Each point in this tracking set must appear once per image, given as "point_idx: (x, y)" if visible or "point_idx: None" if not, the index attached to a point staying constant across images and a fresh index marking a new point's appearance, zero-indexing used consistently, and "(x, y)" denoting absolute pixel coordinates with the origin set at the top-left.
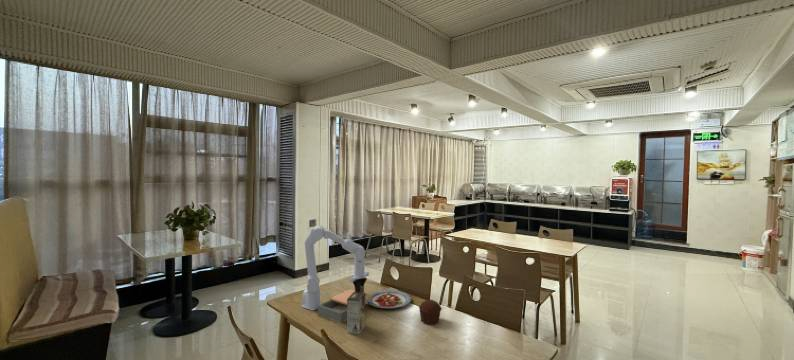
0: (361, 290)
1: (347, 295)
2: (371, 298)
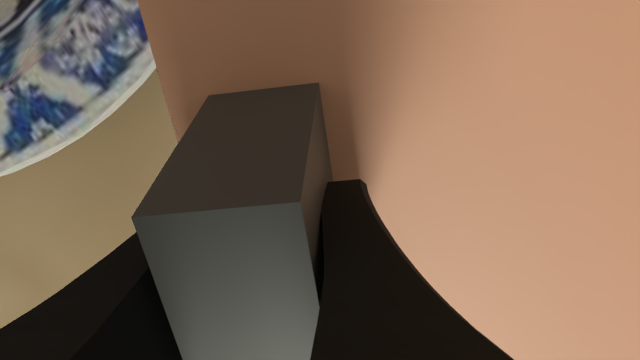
0: (311, 145)
1: (602, 305)
2: (16, 33)
